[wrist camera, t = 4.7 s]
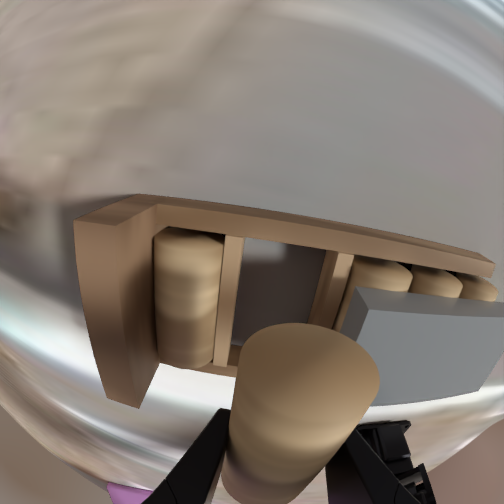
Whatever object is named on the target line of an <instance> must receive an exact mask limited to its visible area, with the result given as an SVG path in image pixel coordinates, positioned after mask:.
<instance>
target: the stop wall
mask: <svg viewBox="0 0 504 504" xmlns="http://www.w3.org/2000/svg"><path fill="white" fill-rule="evenodd" d="M160 197H162V196H155V195H146V194H136V195H134V196H131V197H128V198H126V199H123V200H120V201H118V202H115V203H113V204H110V205H108V206H105V207H103V208H100V209H98V210H96V211H93V212H91V213H88V214H86V215H84V216H81V217H79V218H77V219H75V220H73V227H74V242H75V253H76V263H77V271H78V279H79V286H80V292H81V298H82V304H83V310H84V315H85V320H86V324H87V329H88V333H89V338H90V342H91V346H92V350H93V354H94V357H95V361H96V364H97V368H98V371H99V375H100V378H101V381H102V384H103V387H104V390H105V393H106V396H107V398H108V399H111V400H114V401H117V402H120V403H123V404H126V405H129V406H132V407H135V408H138V409H139V408H140V405H141V403H142V401H143V399H144V396H145V394H146V392H147V390H148V388H149V385H150V383H151V381H152V379H153V377H154V374H155V372H156V370H157V368H158V366H159V363H160V359H159V354H158V350H157V337H156V320H155V297H154V236H155V235H156V234H157V233H158V232H159V231H161V230H163V229H167V228H169V226H165V225H158V224H156V219H157V204H153V203H149V202H151V201H153V200H155V199H157V198H160Z"/></svg>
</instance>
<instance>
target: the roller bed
mask: <svg viewBox="0 0 504 504" xmlns="http://www.w3.org/2000/svg"><path fill="white" fill-rule="evenodd" d="M149 203H153V204H157V219H156V224H158V225H165V226H172V227H173V228H167V229H163V230H161V231H159V232H158V233H157V234H156V235H155V236H154V297H155V320H156V337H157V350H158V354H159V359H160V363H163V364H167V365H171V366H173V367H176V368H181V369H190V370H195V371H200V372H206V373H211V374H217V375H223V376H229V377H236V375H237V369H238V363H239V356H240V352H241V349H242V347H243V346H236V345H231V337H232V330H233V322H234V314H235V307H236V299H237V292H238V285H239V277H240V270H241V262H242V255H243V248H244V241H245V237H249V238H255V239H262V240H269V241H275V242H282V243H288V244H295V245H301V246H307V247H314V248H320V249H326V254H325V259H324V263H323V267H322V271H321V275H320V278H319V282H318V286H317V290H316V294H315V297H314V301H313V304H312V308H311V312H310V315H309V318H308V322H307V324H312V325H317V326H321V327H325V328H328V329H331V330H334V331H336V332H340V329H341V327H342V324H343V321H344V318H345V316H346V313H347V310H348V307H349V304H350V301H351V298H352V295H353V292H354V289H355V286H358V287H366V288H374V289H382V290H390V291H399V292H407V293H416V294H424V295H433V296H443V297H451V298H462V299H471V300H482V301H492V302H494V301H495V299H496V297H497V294H498V290H497V289H496V288H495V287H494V286H493V285H492V284H491V283H489V282H488V281H486V280H485V279H483V278H481V277H479V276H482V277H488V278H491V276H492V274H493V271H494V268H495V265H496V264H495V263H493V262H492V261H490V260H489V259H487V258H486V257H484V256H483V255H481V254H479V253H476V252H472V251H468V250H464V249H460V248H456V247H452V246H448V245H444V244H440V243H436V242H431V241H427V240H423V239H418V238H414V237H410V236H405V235H400V234H396V233H391V232H386V231H382V230H377V229H372V228H367V227H362V226H357V225H351V224H346V223H341V222H336V221H330V220H325V219H319V218H313V217H307V216H302V215H296V214H290V213H283V212H277V211H271V210H264V209H258V208H251V207H244V206H237V205H230V204H222V203H215V202H207V201H199V200H191V199H183V198H174V197H165V196H162V197H160V198H157V199H155V200H153V201H151V202H149ZM219 233H222V234H226V237H224V236H222V235H221V234H219ZM354 254H356V255H354ZM391 260H393V261H391ZM394 261H399V262H404V263H410V264H413V266H412V269H411V272H410V271H409V270H407V269H406V268H405V267H403V266H402V265H400V264H398V263H396V262H394ZM442 269H444V270H450V271H455V272H457V274H456V277H454V276H453V275H451V274H450V273H448V272H446V271H444V270H442Z"/></svg>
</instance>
